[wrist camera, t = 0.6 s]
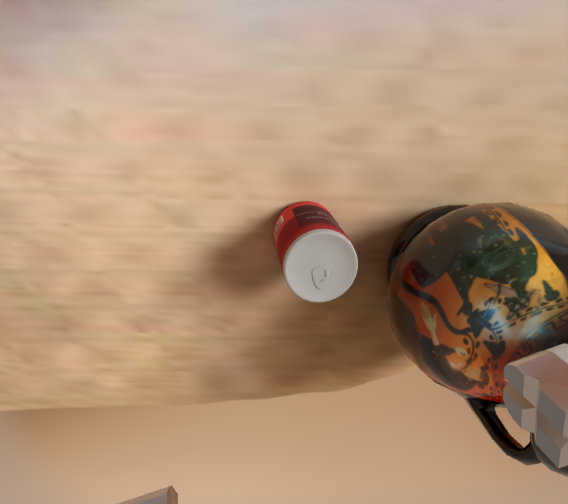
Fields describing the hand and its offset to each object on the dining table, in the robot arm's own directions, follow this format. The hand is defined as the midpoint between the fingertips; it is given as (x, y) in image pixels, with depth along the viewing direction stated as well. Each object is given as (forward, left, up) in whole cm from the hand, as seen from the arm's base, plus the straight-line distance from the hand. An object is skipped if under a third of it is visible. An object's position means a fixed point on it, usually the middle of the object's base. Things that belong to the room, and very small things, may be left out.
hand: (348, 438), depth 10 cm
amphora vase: (+19, +22, -41) cm, 50 cm away
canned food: (+11, +4, -41) cm, 43 cm away
